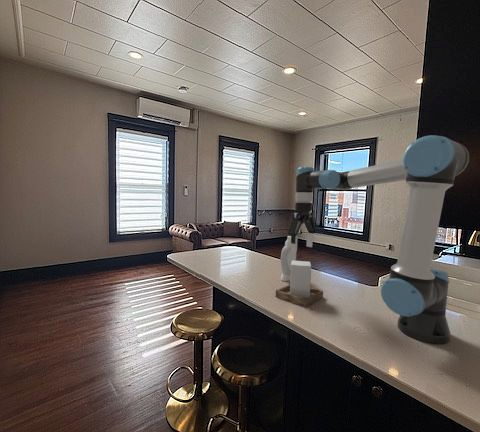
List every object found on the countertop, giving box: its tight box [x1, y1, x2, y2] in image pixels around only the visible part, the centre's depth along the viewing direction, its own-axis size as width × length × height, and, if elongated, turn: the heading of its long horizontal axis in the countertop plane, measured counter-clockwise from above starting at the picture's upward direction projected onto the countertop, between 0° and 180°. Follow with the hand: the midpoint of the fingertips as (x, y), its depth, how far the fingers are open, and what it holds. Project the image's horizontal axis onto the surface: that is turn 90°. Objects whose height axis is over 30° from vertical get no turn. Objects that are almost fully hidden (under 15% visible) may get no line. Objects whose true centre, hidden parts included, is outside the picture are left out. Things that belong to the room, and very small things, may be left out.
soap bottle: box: [280, 235, 297, 282], centre depth 145 cm, size 13×8×24 cm, turn 130°
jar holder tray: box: [275, 284, 324, 308], centre depth 122 cm, size 16×16×3 cm
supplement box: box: [289, 260, 312, 299], centre depth 121 cm, size 9×9×15 cm
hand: (301, 248), depth 120 cm, fingers open, 13 cm apart
